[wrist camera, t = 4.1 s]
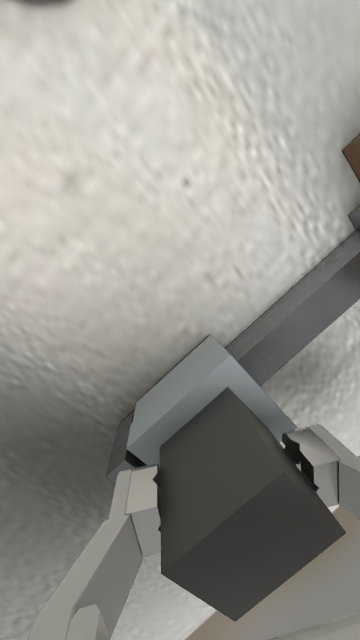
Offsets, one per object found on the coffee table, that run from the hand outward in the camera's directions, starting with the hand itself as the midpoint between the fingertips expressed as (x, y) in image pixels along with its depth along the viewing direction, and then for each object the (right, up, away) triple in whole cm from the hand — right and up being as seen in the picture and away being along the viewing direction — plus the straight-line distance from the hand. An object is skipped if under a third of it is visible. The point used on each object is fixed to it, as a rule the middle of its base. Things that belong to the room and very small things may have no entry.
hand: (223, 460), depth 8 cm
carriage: (-1, +1, +5) cm, 5 cm away
